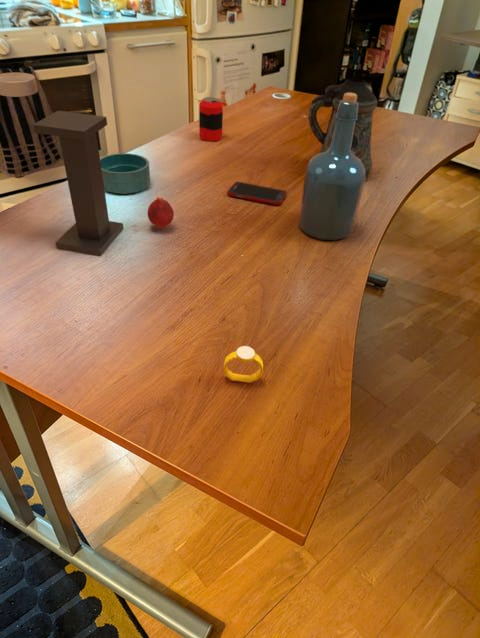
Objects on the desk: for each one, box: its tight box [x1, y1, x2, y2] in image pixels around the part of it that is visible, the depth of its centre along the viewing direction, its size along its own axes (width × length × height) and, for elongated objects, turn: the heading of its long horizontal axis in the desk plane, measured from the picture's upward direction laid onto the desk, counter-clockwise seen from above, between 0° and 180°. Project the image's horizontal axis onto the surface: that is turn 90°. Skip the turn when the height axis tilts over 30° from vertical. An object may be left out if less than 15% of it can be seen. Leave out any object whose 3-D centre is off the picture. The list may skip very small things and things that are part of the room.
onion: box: [146, 194, 175, 229], centre depth 104 cm, size 6×6×8 cm
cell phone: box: [226, 181, 288, 206], centre depth 122 cm, size 8×15×1 cm, turn 71°
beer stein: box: [307, 77, 378, 178], centre depth 129 cm, size 16×19×25 cm
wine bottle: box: [298, 93, 367, 241], centre depth 101 cm, size 14×13×30 cm
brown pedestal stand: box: [32, 110, 124, 257], centre depth 93 cm, size 10×12×25 cm
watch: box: [223, 345, 264, 384], centre depth 70 cm, size 6×3×6 cm, turn 87°
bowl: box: [100, 152, 151, 195], centre depth 121 cm, size 13×13×6 cm
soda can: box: [198, 96, 224, 143], centre depth 150 cm, size 8×8×12 cm
